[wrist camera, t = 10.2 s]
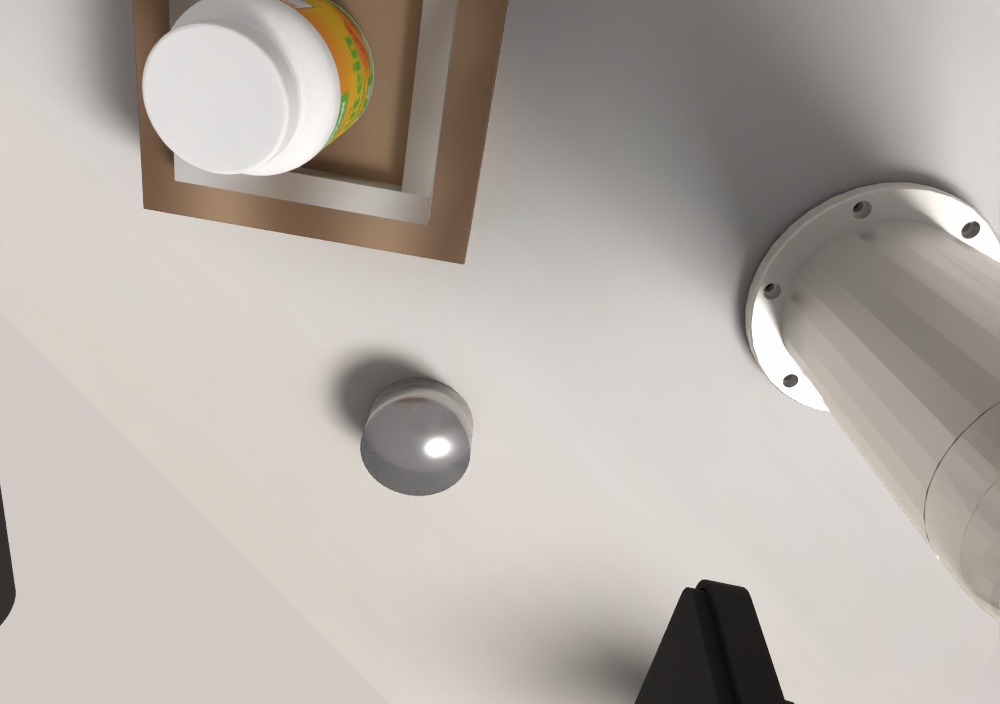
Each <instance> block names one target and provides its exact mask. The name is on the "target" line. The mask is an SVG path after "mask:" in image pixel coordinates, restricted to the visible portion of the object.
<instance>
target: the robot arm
mask: <svg viewBox="0 0 1000 704" xmlns="http://www.w3.org/2000/svg"><path fill="white" fill-rule="evenodd" d="M857 203H859V205H858V207H857V208H856V209H853V208H854V206H855V205H856V204H857ZM770 283H771V286H770V287H769V288H767V289H764V288H765V287H766V286H767V285H769V284H770ZM745 329H746V334H747V338H748V342H749V347H750V349H751V351H752V354H753V356H754V358H755V360H756V362H757V364H758V365H759V367H760V368H761V370H762V371H763V373H764V374H765V375H766V377H767V378H768V380H769V381H770V382H771V383H772V384H773V385H774V386H775V387H776V388H777V389H778V390H779V391H780V392H782V393H783V394H785V395H786V396H788V397H790V398H791V399H793V400H794V401H796V402H798V403H800V404H803V405H805V406H808V407H811V408H814V409H817V410H821V411H827V412H830V413H831V414H832V416H833V417H834V418H835V420H836V421H837V422H838V424H839V425H840V426H841V428H842V429H843V430H844V432H845V433H846V434H847V436H848V437H849V439H850V440H851V441H852V443H853V444H854V445H855V447H856V448H857V449H858V451H859V452H860V453H861V455H862V456H863V457H864V459H865V460H866V461H867V463H868V464H869V465H870V467H871V468H872V470H873V471H874V472H875V474H876V475H877V476H878V478H879V479H880V480H881V482H882V483H883V484H884V486H885V487H886V488H887V490H888V491H889V492H890V494H891V495H892V496H893V498H894V499H895V501H896V502H897V503H898V505H899V506H900V507H901V509H902V510H903V511H904V513H905V514H906V515H907V517H908V518H909V519H910V521H911V522H912V523H913V525H914V526H915V527H916V529H917V530H918V532H919V533H920V534H921V536H922V537H923V538H924V540H925V541H926V542H927V544H928V545H929V546H930V548H931V549H932V550H933V552H934V553H935V554H936V556H937V557H938V558H939V559H940V560H941V562H942V563H943V564H944V566H945V567H946V568H947V570H948V571H949V572H950V573H951V575H952V576H953V577H954V579H955V580H956V581H957V583H958V584H959V585H960V586H961V587H962V588H963V590H964V591H965V592H966V593H967V594H968V595H969V596H970V597H971V598H972V599H973V600H974V601H975V602H976V603H977V604H978V605H979V606H980V607H981V608H982V609H983V610H984V611H986V612H987V613H988V614H989V615H991V616H992V617H993V618H995V619H996V620H998V621H999V622H1000V242H999V239H998V237H997V236H996V234H995V232H994V231H993V229H992V227H991V226H990V224H989V222H988V221H987V220H986V219H985V218H984V217H983V216H982V215H981V214H980V213H979V212H978V211H977V210H976V209H975V208H974V207H973V206H971V205H969V204H968V203H966V202H964V201H962V200H961V199H959V198H957V197H955V196H954V195H952V194H949V193H947V192H944V191H942V190H939V189H937V188H935V187H931V186H926V185H921V184H915V183H910V182H893V183H879V184H874V185H869V186H864V187H858V188H856V189H853V190H850V191H848V192H845V193H842V194H840V195H837V196H834V197H832V198H830V199H829V200H827V201H825V202H823V203H822V204H820V205H818V206H816V207H815V208H813V209H811V210H809V211H808V212H807V213H806V214H804V215H803V216H802V217H801V218H799V219H798V220H797V221H796V222H794V223H793V224H792V225H791V226H789V227H788V228H787V230H786V231H785V232H784V233H783V234H782V235H781V236H780V237H779V238H778V239H777V241H776V242H775V243H774V244H773V245H772V246H771V248H770V249H769V251H768V252H767V254H766V256H765V257H764V259H763V260H762V262H761V263H760V265H759V267H758V269H757V271H756V274H755V276H754V279H753V281H752V283H751V286H750V289H749V294H748V299H747V303H746V308H745ZM15 592H16V590H15V584H14V577H13V569H12V563H11V556H10V549H9V543H8V535H7V529H6V521H5V515H4V508H3V501H2V495H1V488H0V625H1V624H2V623H3V622H4V620H5V619H6V617H7V616H8V615H9V613H10V611H11V609H12V606H13V604H14V601H15V596H16V593H15ZM635 704H794V703H793V702H790V701H787V700H785V699H784V696H783V693H782V690H781V687H780V684H779V681H778V678H777V675H776V672H775V669H774V666H773V663H772V660H771V657H770V654H769V651H768V648H767V645H766V642H765V639H764V636H763V633H762V630H761V626H760V623H759V620H758V617H757V614H756V611H755V608H754V605H753V602H752V599H751V596H750V594H749V592H748V590H746V589H745V588H744V587H740V586H735V585H730V584H725V583H720V582H715V581H710V580H701V581H700V582H699V583H698V585H697V587H696V588H695V589H694V588H689V587H686V588H685V589H684V590H683V592H682V594H681V596H680V599H679V601H678V603H677V606H676V608H675V610H674V613H673V615H672V617H671V620H670V622H669V624H668V627H667V629H666V631H665V634H664V636H663V638H662V641H661V643H660V645H659V648H658V650H657V652H656V655H655V657H654V659H653V662H652V664H651V666H650V669H649V671H648V674H647V676H646V678H645V681H644V683H643V685H642V688H641V690H640V692H639V695H638V697H637V699H636V702H635Z"/></svg>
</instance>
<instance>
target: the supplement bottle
mask: <svg viewBox="0 0 1000 704" xmlns="http://www.w3.org/2000/svg"><path fill="white" fill-rule="evenodd" d="M373 83H374V65H373V59H372V54H371V51H370V48H369V45H368V42H367V40H366V38H365V36H364V34H363V32H362V31H361V29H360V28H359V26H358V25H357V23H356V22H355V21H354V20H353V18H352V17H351V16H350V15H349V14H348V13H347V12H346V11H344V10H343V9H342V8H341V7H339V6H338V5H336V4H335V3H333V2H331V1H329V0H201V1H199V2H197V3H196V4H194V5H193V6H191V7H190V8H189V9H187V10H186V11H185V12H184V13H183V14H182V15H181V16H180V18H179V19H178V20H177V21H176V23H175V24H174V26H173V27H172V29H171V31H169V32H168V33H167V34H165V35H164V36H163V37H162V38H161V39H160V40H159V41H158V42H157V43H156V44H155V45H154V47H153V48H152V50H151V51H150V53H149V55H148V58H147V60H146V63H145V67H144V71H143V77H142V93H143V100H144V104H145V108H146V112H147V114H148V117H149V119H150V121H151V123H152V125H153V127H154V129H155V130H156V132H157V134H158V135H159V136H160V138H161V139H162V140H163V142H164V143H165V144H166V145H167V146H168V147H169V148H170V149H171V150H172V151H173V152H174V153H175V154H176V155H178V156H179V157H180V158H182V159H183V160H185V161H186V162H188V163H190V164H191V165H193V166H195V167H197V168H200V169H202V170H206V171H209V172H212V173H217V174H240V173H242V174H248V175H256V176H269V175H276V174H281V173H284V172H287V171H290V170H293V169H295V168H298V167H300V166H301V165H303V164H305V163H306V162H308V161H309V160H311V159H312V158H313V157H315V156H316V155H317V154H318V153H319V152H320V151H322V150H323V149H324V148H325V147H326V146H328V145H329V144H330V143H332V142H333V141H334V140H335V139H336V138H337V137H339V136H340V135H341V134H342V133H344V132H345V131H346V130H347V129H349V128H350V127H351V126H352V125H353V124H354V123H355V122H356V121H357V120H358V119H359V117H360V116H361V115H362V113H363V112H364V110H365V108H366V107H367V105H368V102H369V100H370V97H371V94H372V89H373Z"/></svg>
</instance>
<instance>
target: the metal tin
mask: <svg viewBox="0 0 1000 704" xmlns="http://www.w3.org/2000/svg"><path fill="white" fill-rule="evenodd" d="M472 430H473V419H472V415H471V412H470V409H469V407H468V405H467V403H466V402H465V401H464V399H463V398H462V397H461V396H460V395H459V394H458V393H457V392H456V391H455V390H453V389H452V388H450V387H449V386H447V385H445V384H443V383H440V382H437V381H434V380H430V379H422V378H414V379H407V380H403V381H399V382H397V383H394V384H392V385H391V386H389V387H387V388H386V389H385V390H383V391H382V392H381V393H380V394H379V396H378V397H377V398H376V400H375V402H374V403H373V406H372V409H371V412H370V414H369V417H368V420H367V423H366V426H365V429H364V432H363V435H362V438H361V444H360V450H361V456H362V460H363V462H364V465H365V467H366V468H367V470H368V471H369V473H370V474H371V475H372V476H373V477H374V478H375V479H376V480H377V481H378V482H379V483H381V484H382V485H383V486H385V487H387V488H389V489H391V490H393V491H395V492H399V493H402V494H406V495H414V496H424V495H431V494H436V493H439V492H442V491H444V490H446V489H448V488H450V487H451V486H453V485H454V484H455V483H456V482H458V481H459V480H460V478H461V477H462V476H463V474H464V473H465V471H466V469H467V467H468V464H469V460H470V450H471V440H472Z"/></svg>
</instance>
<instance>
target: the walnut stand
mask: <svg viewBox="0 0 1000 704" xmlns="http://www.w3.org/2000/svg"><path fill="white" fill-rule="evenodd" d="M199 1H201V0H133V16H134V35H135V54H136V73H137V92H138V111H139V130H140V148H141V167H142V186H143V205H144V209H149V210H155V211H160V212H166V213H172V214H178V215H183V216H189V217H195V218H200V219H206V220H212V221H218V222H223V223H229V224H235V225H241V226H246V227H252V228H258V229H264V230H269V231H275V232H281V233H287V234H292V235H298V236H304V237H309V238H315V239H321V240H327V241H332V242H338V243H344V244H350V245H355V246H361V247H367V248H373V249H378V250H384V251H390V252H395V253H401V254H407V255H413V256H418V257H424V258H430V259H436V260H441V261H447V262H453V263H459V264H464V263H465V257H466V252H467V247H468V241H469V236H470V230H471V224H472V218H473V212H474V206H475V200H476V194H477V188H478V182H479V176H480V169H481V163H482V157H483V151H484V145H485V139H486V133H487V127H488V121H489V115H490V108H491V102H492V96H493V90H494V84H495V78H496V72H497V66H498V60H499V54H500V48H501V41H502V35H503V29H504V23H505V17H506V11H507V5H508V0H329V1H331V2H333V3H335V4H336V5H338V6H339V7H341V8H342V9H343V10H344V11H346V12H347V13H348V14H349V15H350V16H351V17H352V18H353V20H354V21H355V22H356V23H357V25H358V26H359V28H360V29H361V31H362V32H363V34H364V36H365V38H366V40H367V42H368V45H369V48H370V51H371V54H372V59H373V65H374V83H373V89H372V94H371V97H370V100H369V102H368V105H367V107H366V108H365V110H364V112H363V113H362V115H361V116H360V117H359V119H358V120H357V121H356V122H355V123H354V124H353V125H352V126H351V127H350V128H349V129H347V130H346V131H345V132H344V133H342V134H341V135H340V136H339V137H337V138H336V139H335V140H334V141H333V142H332V143H330V144H329V145H328V146H326V147H325V148H324V149H323V150H322V151H320V152H319V153H318V154H317V155H316V156H315V157H313V158H312V159H311V160H309V161H308V162H306V163H305V164H303V165H301V166H300V167H298V168H295V169H293V170H290V171H287V172H284V173H281V174H276V175H269V176H256V175H248V174H242V173H240V174H217V173H212V172H209V171H206V170H202V169H200V168H197V167H195V166H193V165H191V164H190V163H188V162H186V161H185V160H183V159H182V158H180V157H179V156H178V155H176V154H175V153H174V152H173V151H172V150H171V149H170V148H169V147H168V146H167V145H166V144H165V143H164V142H163V140H162V139H161V138H160V136H159V135H158V134H157V132H156V130H155V129H154V127H153V125H152V123H151V121H150V119H149V117H148V114H147V112H146V108H145V104H144V100H143V93H142V77H143V71H144V67H145V63H146V60H147V58H148V55H149V53H150V51H151V50H152V48H153V47H154V45H155V44H156V43H157V42H158V41H159V40H160V39H161V38H162V37H163V36H164V35H165V34H167V33H168V32H169V31H171V29H172V27H173V26H174V24H175V23H176V21H177V20H178V19H179V18H180V16H181V15H182V14H183V13H184V12H185V11H186V10H187V9H189V8H190V7H191V6H193V5H194V4H196V3H197V2H199Z"/></svg>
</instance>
